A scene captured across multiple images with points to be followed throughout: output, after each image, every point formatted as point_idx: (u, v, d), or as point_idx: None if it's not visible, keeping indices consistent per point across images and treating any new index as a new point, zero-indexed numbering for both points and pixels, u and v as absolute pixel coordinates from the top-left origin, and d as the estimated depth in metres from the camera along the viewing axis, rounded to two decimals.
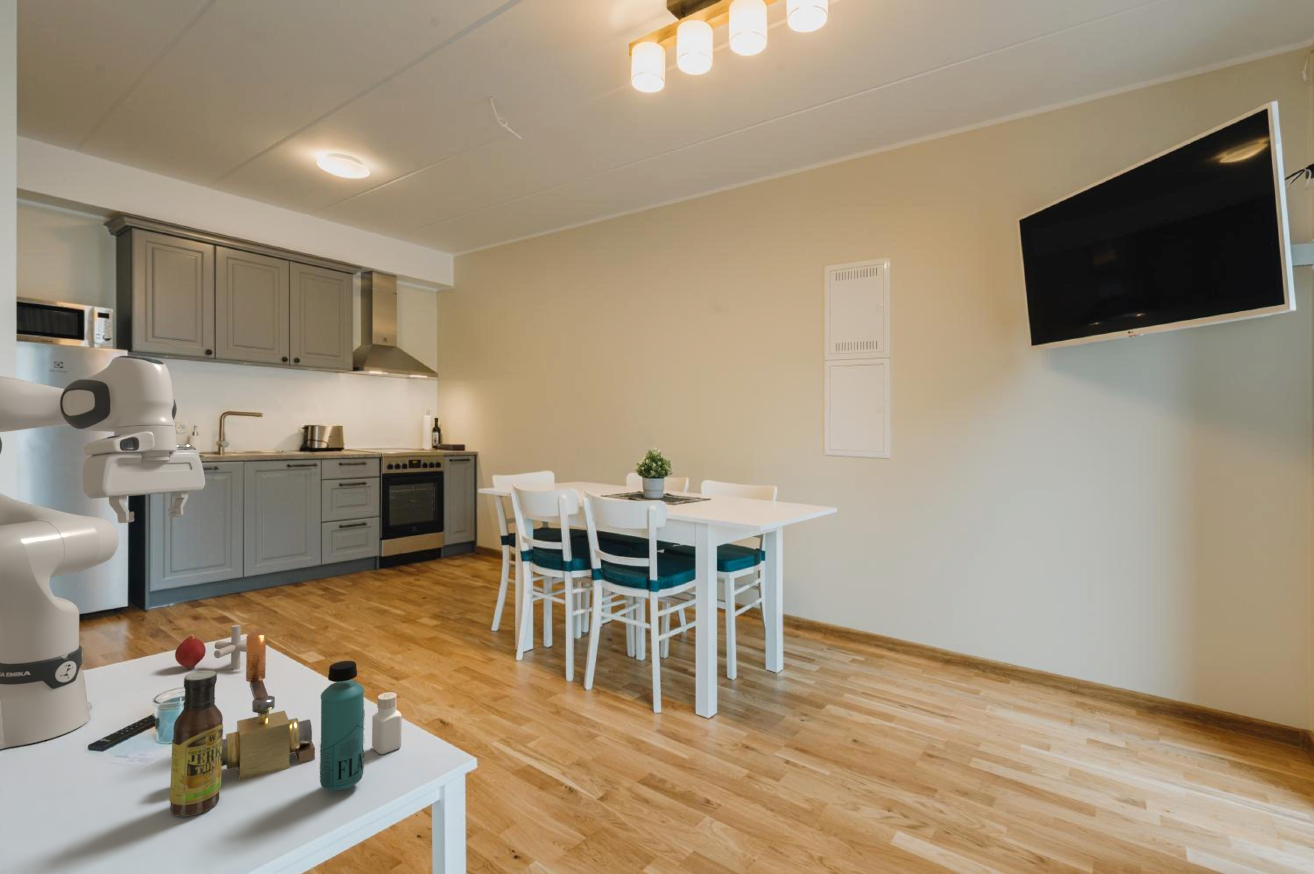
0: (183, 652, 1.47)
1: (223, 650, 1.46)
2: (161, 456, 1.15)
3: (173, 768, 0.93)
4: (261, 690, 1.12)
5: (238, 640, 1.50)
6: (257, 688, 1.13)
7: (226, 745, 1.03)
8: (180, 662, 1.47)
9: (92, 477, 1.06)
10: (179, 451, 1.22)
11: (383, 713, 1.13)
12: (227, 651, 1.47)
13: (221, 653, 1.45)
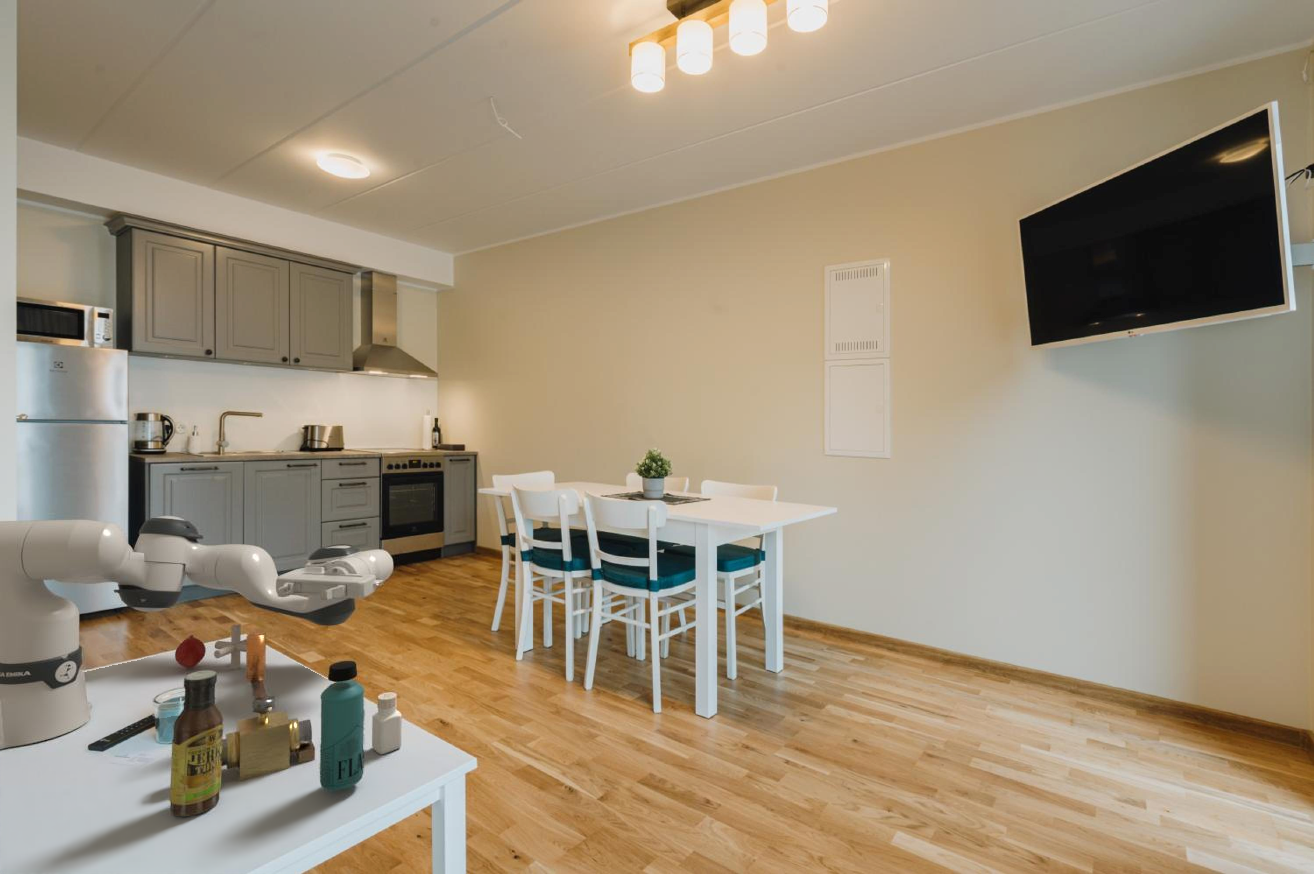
0: (183, 652, 1.47)
1: (223, 650, 1.46)
2: (336, 567, 1.40)
3: (173, 768, 0.93)
4: (261, 690, 1.12)
5: (238, 640, 1.50)
6: (257, 688, 1.13)
7: (226, 745, 1.03)
8: (180, 662, 1.47)
9: None
10: None
11: (383, 713, 1.13)
12: (227, 651, 1.47)
13: (221, 653, 1.45)
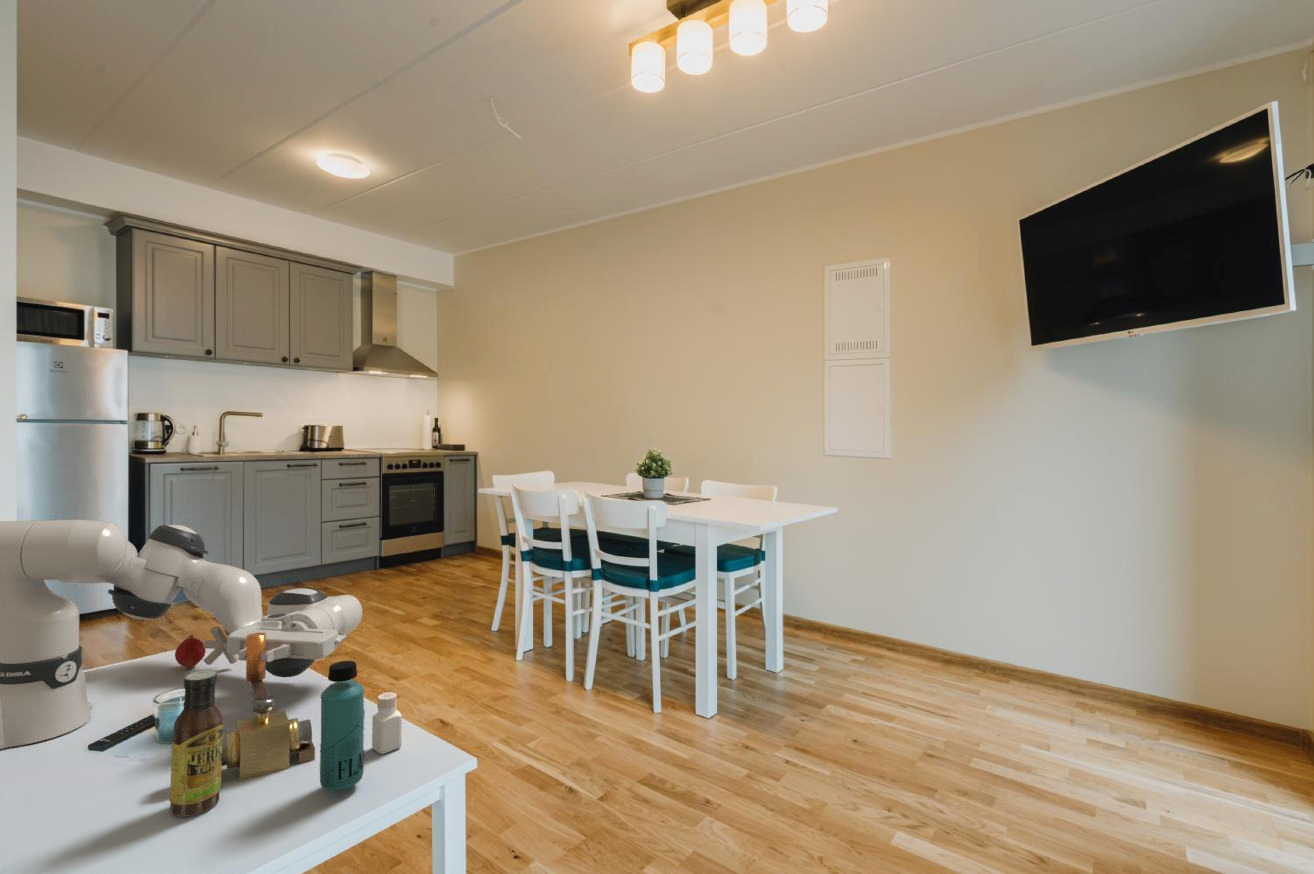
0: (183, 652, 1.47)
1: (212, 656, 1.44)
2: (295, 621, 1.27)
3: (173, 768, 0.93)
4: (261, 690, 1.12)
5: (223, 640, 1.46)
6: (257, 688, 1.13)
7: (226, 745, 1.03)
8: (180, 662, 1.47)
9: None
10: None
11: (383, 713, 1.13)
12: (216, 655, 1.45)
13: (211, 660, 1.43)
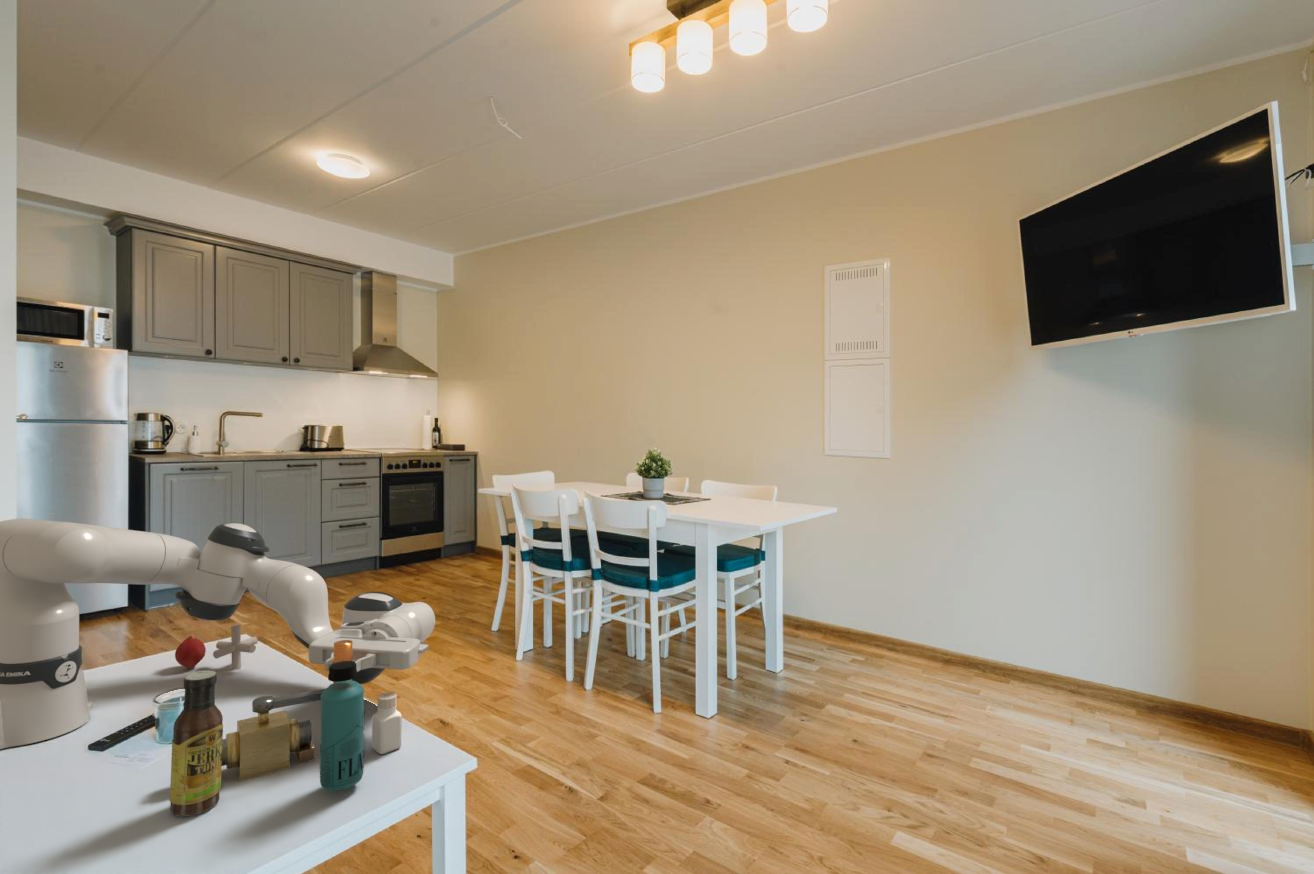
0: (183, 652, 1.47)
1: (222, 650, 1.46)
2: (375, 629, 1.24)
3: (173, 768, 0.93)
4: (301, 695, 1.10)
5: (238, 640, 1.50)
6: (309, 692, 1.11)
7: (226, 745, 1.03)
8: (180, 662, 1.47)
9: None
10: None
11: (383, 713, 1.13)
12: (226, 651, 1.47)
13: (220, 653, 1.45)
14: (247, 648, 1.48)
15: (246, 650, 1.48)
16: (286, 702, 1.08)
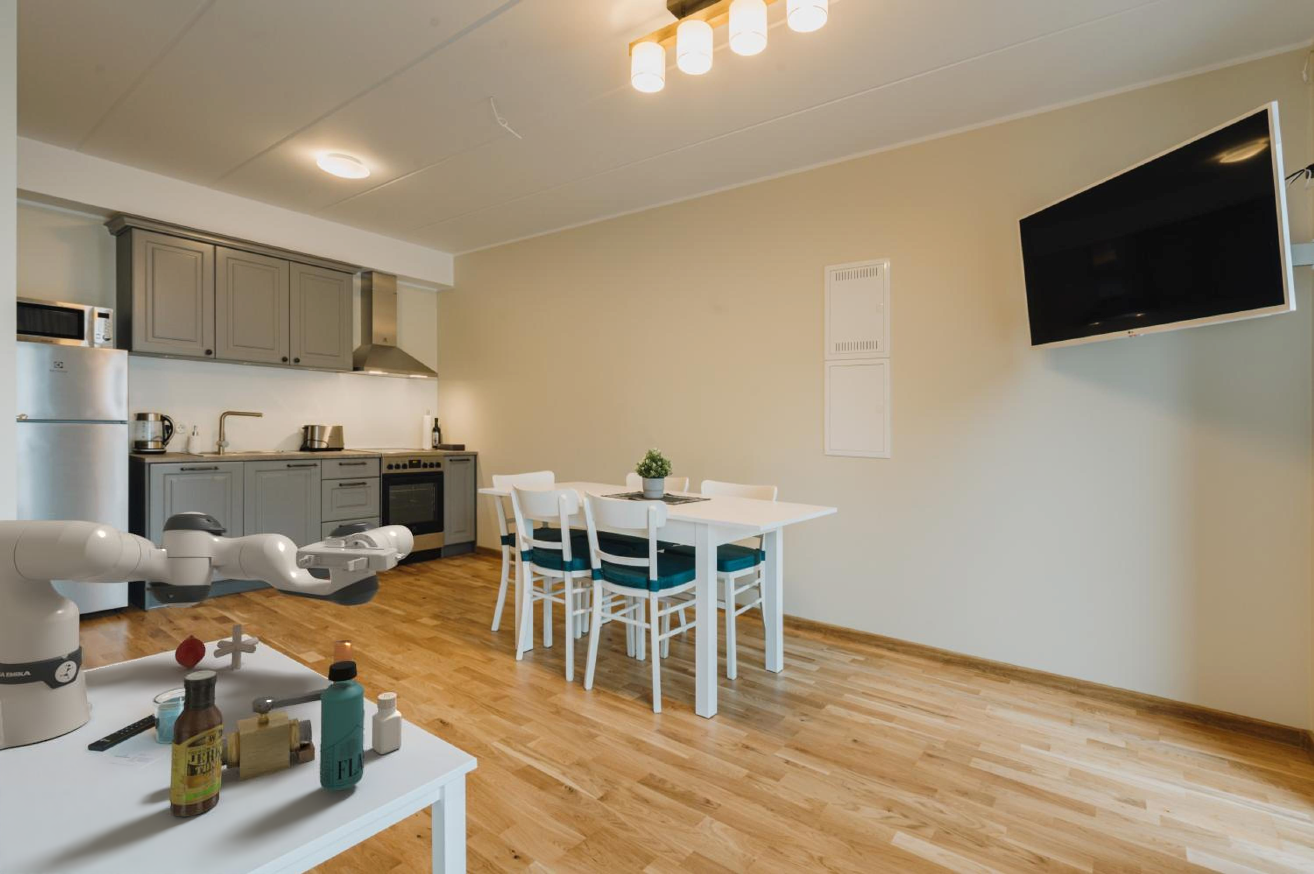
0: (183, 652, 1.47)
1: (222, 649, 1.46)
2: (357, 540, 1.36)
3: (173, 768, 0.93)
4: (301, 695, 1.10)
5: (239, 640, 1.50)
6: (309, 692, 1.11)
7: (226, 745, 1.03)
8: (180, 662, 1.47)
9: None
10: None
11: (383, 713, 1.13)
12: (227, 651, 1.47)
13: (220, 653, 1.45)
14: (248, 649, 1.48)
15: (246, 650, 1.48)
16: (286, 702, 1.08)
